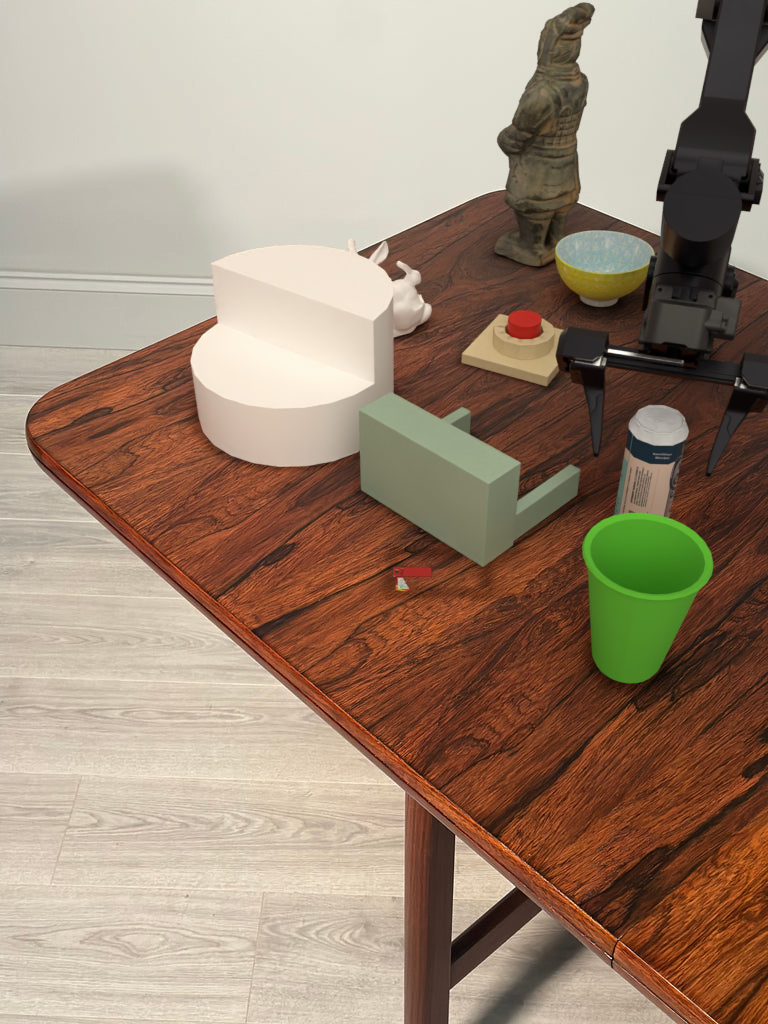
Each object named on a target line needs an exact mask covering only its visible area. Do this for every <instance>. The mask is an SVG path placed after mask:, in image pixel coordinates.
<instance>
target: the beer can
mask: <svg viewBox="0 0 768 1024" xmlns="http://www.w3.org/2000/svg"><path fill="white" fill-rule="evenodd" d="M689 432H690V431H689V426H688V423H687V421H686V417H685V416H684V415H683V414H682V413H681V412H680V411H679V410H678V409H676V408H673V407H670V406H667V405H664V404H649V405H646V406H644V407H642V408H639V409H638V410H637V411H636V413H634V415H633V416H632V417H631V418H630V420H629V422H628V430H627V437H626V442H625V447H624V453H623V458H622V466H621V471H620V476H619V483H618V488H617V494H616V501H615V506H614V512H613V516H614V515H620V514H625V513H648V514H656V515H660V516H663V517H667V518H670V516H671V511H672V507H673V501H674V497H675V492H676V488H677V483H678V479H679V473H680V470H681V469H680V468H681V464H682V460H683V456H684V451H685V446H686V442H687V438H688V436H689Z"/></svg>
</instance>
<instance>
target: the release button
mask: <svg viewBox="0 0 768 1024" xmlns="http://www.w3.org/2000/svg"><path fill="white" fill-rule="evenodd" d="M508 316H509V317H508V326H507V333H508V335H510V336H511V337H514V338H518V339H534V338H537V337H539V335H540V332H541V322H542V319H543V318H542V316H541V315H540V314H539V313H537V312H535V311H532V310H526V309H525V310H524V309H523V310H522V309H521V310H516V311H513V312H511V313H510V314H509V315H508Z"/></svg>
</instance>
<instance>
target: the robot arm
mask: <svg viewBox="0 0 768 1024" xmlns="http://www.w3.org/2000/svg"><path fill="white" fill-rule="evenodd" d="M694 19H701V20H702V21H701V26H700V27H701V28H700V43H701V45H702V47H703V51H704V53H705V56H706V58H707V65H706V69H705V73H704V79H703V83H702V84H703V85H702V88H701V94H700V98H699V103H698V107H697V108H696V109H695V110H693V112H692V113H690V114H688V116H687V117H686V118H685V119H683V120H682V122H680V125H679V131H678V133H677V139H676V144H675V148H674V149H670V148H668V149H666V151H665V156H664V159H663V164H662V168H661V171H660V175H659V178H658V183H657V187H656V193H655V201H656V202H659V203H660V202H661V203H662V214H661V222H660V235H659V236H660V237H659V238H660V241H659V247H658V252H657V255H655V256H653V255H651V258H650V262H649V267H648V272H647V277H646V278H645V285H644V292H643V298H642V305H641V312H643V316H642V320H641V321H642V322H641V326H640V330H639V335H638V345H639V347H638V348H635V347H629V346H622V345H616V344H610V334H609V333H610V332H609V331H603V330H596V329H591V328H590V329H589V328H583V327H577V326H567V327H566V328H565V329H563V330H564V331H562V332H561V334H560V337H559V341H558V346H557V350H556V355H555V356H556V360H557V364H558V368H559V370H560V371H559V372H562V373H565V374H569V376H570V380H571V382H572V384H575V385H580V386H581V387H583V392H584V395H585V400H586V404H587V409H588V414H589V415H588V416H589V425H590V435H591V444H592V454H593V455H592V456H593V457H594V458H599V456H600V451H601V448H602V441H603V430H604V415H605V414H604V413H605V402H606V388H607V381H606V380H607V379H606V372H607V368H611V369H617V370H624V371H631V372H636V373H644V374H651V375H655V376H656V375H657V376H661V377H662V376H663V377H670V378H676V379H682V380H688V381H695V382H702V383H708V384H715V385H720V386H721V385H723V386H728V387H732V389H731V390H732V391H731V393H730V396H729V398H728V400H727V402H726V405H725V408H724V412H723V414H722V418H721V421H720V423H719V426H718V429H717V432H716V434H715V438H714V440H713V444H712V447H711V450H710V452H709V455H708V459H707V462H706V463H707V464H706V468H705V474H704V475H705V477H708V478H711V476H712V474H713V472H714V471H715V468H716V467H717V465H718V463H719V461H720V459H721V457H722V456H723V454H724V452H725V450H726V448H727V447H728V445H729V443H730V441H731V439H732V437H733V435H734V434H735V433H736V431H738V429H739V427H740V426H741V424H742V423H743V422H744V420H745V419H746V418H747V416H748V415H749V414H751V413H755V414H761V413H763V412H764V410H765V409H766V407H767V406H768V354H767V355H766V354H762V353H761V354H760V353H753V352H747V351H744V353H743V355H742V357H741V359H740V362H739V363H736V362H730V361H729V362H728V361H722V360H716V359H709V358H710V355H711V354H712V352H713V346H714V342H715V339H716V340H725V341H731V342H732V341H734V340H735V337H736V333H737V328H738V324H739V318H740V313H741V309H742V302H743V299H742V298H736V295H737V292H738V289H739V284H740V281H739V279H738V278H737V276H736V275H737V274H736V272H735V270H736V266H735V265H731V264H730V259H731V255H732V245H733V241H734V238H735V235H736V232H737V229H738V224H739V221H740V217H741V214H742V212H746V213H747V212H748V213H751V210H752V208H753V205H755V206H756V205H757V206H760V203H761V199H762V195H763V191H764V179H765V178H764V177H765V173H764V172H763V170H762V169H761V166H762V162H760V160H761V159H760V158H756V157H753V153H754V148H755V141H756V135H757V129H756V126H755V125H754V124H753V121H752V120H751V119H750V117H749V115H748V113H747V107H748V101H749V96H750V91H751V86H752V79H753V75H754V71H755V67H756V65H757V64H758V62H759V61H761V59H762V58H763V57H764V55H766V53H767V52H768V0H697V4H696V10H695V16H694Z"/></svg>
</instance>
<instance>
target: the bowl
mask: <svg viewBox="0 0 768 1024" xmlns="http://www.w3.org/2000/svg"><path fill="white" fill-rule="evenodd" d="M651 255H653V256H656V254H655V250H654V248H653V247H652V245H650V244H649V243H648V242H647V241H645V240H643V239H642V238H639V237H637V236H635V235H632V234H629V233H626V232H619V231H615V230H614V231H613V230H585V231H578V232H575V233H571V234H568V235H566V237H565V238H563V239H561V240H560V241H559V242H558V244H557V245H556V248H555V265H556V269H557V272H558V274H559V276H560V278H561V280H562V281H563V283H564V284H565V285H566V287H568V288H569V289H570V290H571V291H572V292H573V293H575V294H577V295H578V296H579V299H580V301H581V302H583V304H586V305H587V306H591V307H596V308H597V307H598V308H606V307H607V308H608V307H611V306H613V305H615V304H617V302H618V301H619V299H620V298H623V297H625V296H627V295H629V294H631V293H632V292H634V291H635V290H636V289H638V288H639V287H640V286H641V285H642V284H643V283H644V281H646V278H647V272H648V267H649V262H650V258H651Z"/></svg>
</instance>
